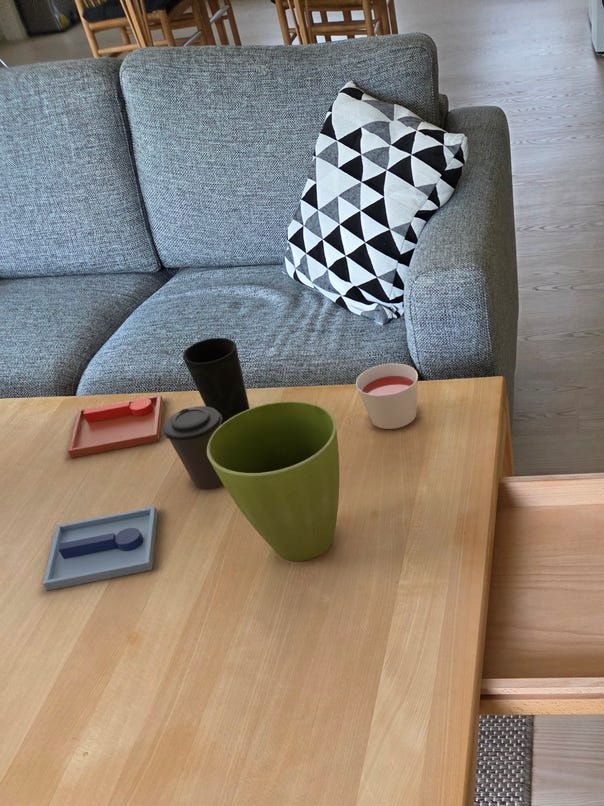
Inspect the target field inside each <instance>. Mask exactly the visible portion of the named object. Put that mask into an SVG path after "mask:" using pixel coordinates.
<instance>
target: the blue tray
mask: <svg viewBox="0 0 604 806" xmlns="http://www.w3.org/2000/svg"><path fill="white" fill-rule="evenodd" d="M157 510H158V509H157V508H156V506H149V507H143V508H139V509H134V510H128V511H124V512H118V513H113V514H108V515H102V516H98V517H93V518H87V519H82V520H76V521H72V522H67V523H62V524H61V523H60V524H57V525H55V529H54V530H55V531H54V534H53V539H52V543H51V547H50V551H49V555H48V561H47V564H46V568H45V571H44V577H43V581H42V585H43V587H44V589H45V590H46V591H53V590H57V589H62V588H67V587H71V586H77V585H78V586H79V585H82V584H88V583H92V582H97V581H102V580H108V579H113V578H117V577H122V576H127V575H133V574H137V573H143V572H148V571H152V570H153V565H154V564H153V563H154V556H155V555H154V554H155V545H156V535H157V527H158V518H159V517H158V515H159V512H158V511H157ZM127 528H137V529H139V530H140V532H141V534H142V536H143V539H144V540H143V543H142V544H141V545H140V546H139V547H138V548H136V549H134V550H130V551H122V550H120V549H118V548H117V549H112V550H107V551H102V552H97V553H92V554H86V555H81V556H76V557H71V558H66V559H63V557H62V555H61V553H60V552H59V545H60V543H65V542H70V541H75V540H80V539H85V538H90V537H95V536H100V535H106V534H111V533H114V534H115V536H116V534H117V533H119V532H120V531H122V530H124V529H127Z"/></svg>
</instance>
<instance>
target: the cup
mask: <svg viewBox="0 0 604 806" xmlns="http://www.w3.org/2000/svg"><path fill="white" fill-rule="evenodd" d="M182 360H183V362H184V364H185V366H186V367H187V370H188V372H189V374H190V377H191V379H192V380H193V382H194V385H195V386H196V389H197V392H198V393H199V395H200V397H201V399H202V401H203V404H204V406H207V407H212V408H214V409H216V410H217V411H218V412H219V413H220V414H221V415H222V422H221V425H222V424H223V423H224V422H226V421H227V420H229V419H230V418H232V417H234V416H235V415H237V414H239V413H241V412H244V411H246V410H248V409H251V408H250V403H249V399H248V395H247V390H246V385H245V380H244V376H243V371H242V367H241V362H240V356H239V354H238V348H237V343H236V342H235V341H234V340H231V339H229V338H226V337H214V338H213V337H212V338H207V339H203V340H200V341H198V342H195V343H193V344H191V345H190V346H189V347H187V348H185V350H184V352H183V354H182Z"/></svg>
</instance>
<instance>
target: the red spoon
mask: <svg viewBox="0 0 604 806" xmlns="http://www.w3.org/2000/svg"><path fill="white" fill-rule="evenodd" d="M141 398H142V399H140V398H137V399H138V400H135V399H134V400H135V401H133V402H132V403H131V404H130V402H124V401H122V402H123V403H119V402H117V403H118V404H113V403H112V404H113V405H108V404H106V405H107V406H102V405H101V406H102V407H97V406H95V407H96V408H92V407H90V408H91V409H86V408H85V409H86V410H84V416H85V418H86V420H87V423H90V422H95V421H100V420H106V419H111V418H117V417H122V416H127V415H132V414H133V415H134V416H144V415H147V414H149V413H150V412H152V411H153V405H152V403H151V400H150V399H147V398H146V397H141Z"/></svg>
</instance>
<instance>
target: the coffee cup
mask: <svg viewBox="0 0 604 806" xmlns="http://www.w3.org/2000/svg"><path fill="white" fill-rule="evenodd" d="M221 422H222V415H221V414H220V413H219V412H218V411H217V410H216V409H214V408H212V407H207V406H205V405H198V406H197V405H196V406H191V407H187V408H183V409H181V410H178V411H176V412H174V413H173V414H171V415H170V416H168V417H167V419H166V420H165V421H164V422H163V425H162V435H163V436H164V437H165V438H166V439H167V440H169V441H170V444H171V445H172V446H173V449H174V451H175V452H176V454H177V456H178V458H179V459H180V461H181V463H182V465H183V466H184V468H185V470H186V472H187V474H188V476H189V477H190V479H191V481H192V483H193V485H194V486H195V487H196V488H197V489H199V490H215V489H218V488H220V487H224V485H223V483H222V481H221V480H220V478H219V476H218V474H217V473H216V471H215V469H214V468H213V466H212V464H211V462H210V460H209V458H208V456H207V446H208V442H209V440H210V438H211V436H212V434H213V433H214V432H215V431H216V429H217V428H218V427H219V426H221Z"/></svg>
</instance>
